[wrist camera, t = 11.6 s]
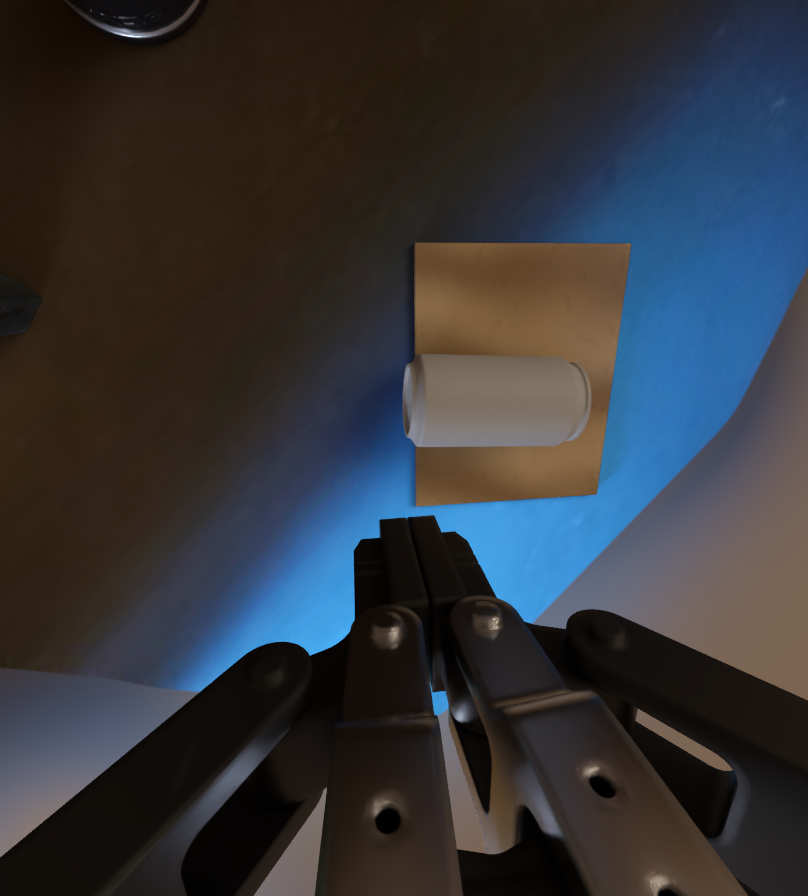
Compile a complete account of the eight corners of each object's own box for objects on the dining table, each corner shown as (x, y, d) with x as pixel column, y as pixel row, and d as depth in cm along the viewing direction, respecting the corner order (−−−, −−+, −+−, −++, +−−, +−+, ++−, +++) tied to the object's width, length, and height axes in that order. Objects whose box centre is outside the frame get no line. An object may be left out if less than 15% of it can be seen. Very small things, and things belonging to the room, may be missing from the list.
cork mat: (414, 243, 29) (414, 242, 29) (627, 244, 31) (631, 243, 30) (415, 504, 35) (416, 506, 35) (593, 492, 37) (596, 494, 36)
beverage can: (405, 336, 29) (568, 340, 30) (399, 411, 33) (542, 411, 35) (416, 387, 24) (609, 388, 26) (407, 466, 28) (573, 464, 30)
